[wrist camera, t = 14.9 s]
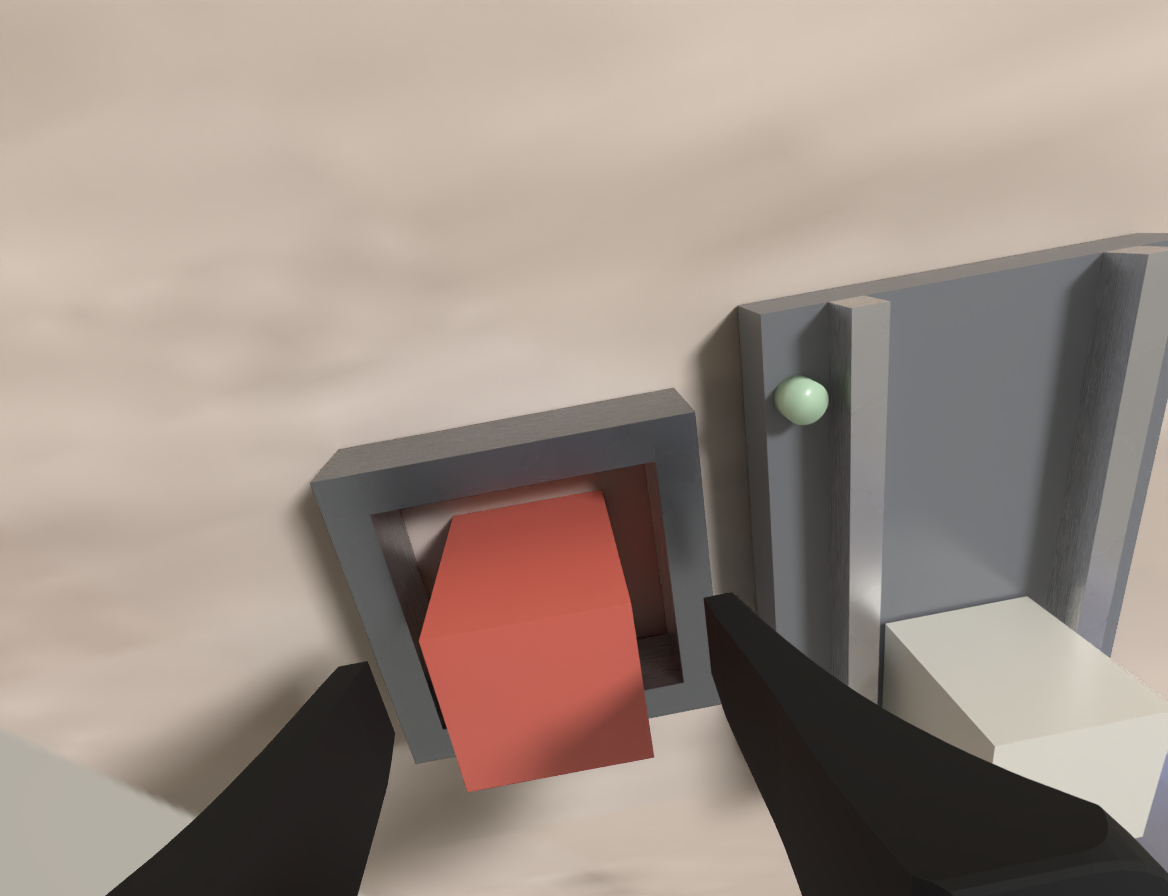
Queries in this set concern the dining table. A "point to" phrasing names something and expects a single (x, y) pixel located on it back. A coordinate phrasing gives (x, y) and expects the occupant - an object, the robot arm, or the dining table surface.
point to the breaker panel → (954, 444)
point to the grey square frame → (503, 461)
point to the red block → (535, 644)
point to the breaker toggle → (1031, 702)
